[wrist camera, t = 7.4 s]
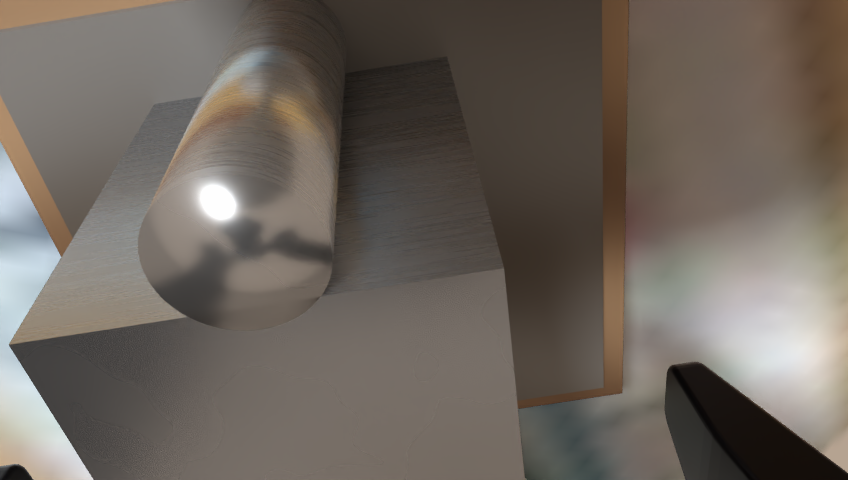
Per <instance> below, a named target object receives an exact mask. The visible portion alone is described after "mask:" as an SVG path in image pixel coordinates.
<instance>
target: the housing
mask: <svg viewBox="0 0 848 480" xmlns="http://www.w3.org/2000/svg"><path fill="white" fill-rule="evenodd" d="M346 53H347V44H346V37H345V33H344V30H343V27H342V25H341V23H340V21H339V19H338V18H337V16H336V15H335V14H334V12H333V11H332V10H331V9H330V8H329V7H328V6H327V5H326V4H325V3H323V2H322V1H321V0H254V1H253V2H251V3H250V4H249V5H248V6H247V7H246V9H245V10H244V11H243V13H242V15H241V17H240V18H239V20H238V23H237V25H236V27H235V29H234V31H233V33H232V35H231V37H230V39H229V41H228V43H227V46H226V48H225V50H224V52H223V54H222V56H221V58H220V60H219V62H218V64H217V66H216V69H215V71H214V73H213V75H212V77H211V79H210V81H209V83H208V85H207V87H206V90H205V92H204V94H203V96H201V97H195V98H188V99H182V100H176V101H170V102H164V103H158V104H154V105H153V107H152V109H151V110H150V112H149V114H148V115H147V117H146V119H145V120H144V122H143V123H142V125H141V127H140V128H139V130H138V132H137V133H136V135H135V137H134V138H133V140H132V142H131V143H130V145H129V147H128V148H127V150H126V152H125V153H124V155H123V157H122V158H121V160H120V162H119V163H118V165H117V166H116V168H115V170H114V171H113V173H112V175H111V176H110V178H109V180H108V181H107V183H106V185H105V186H104V188H103V190H102V191H101V193H100V195H99V196H98V198H97V200H96V201H95V203H94V205H93V206H92V208H91V209H90V211H89V213H88V214H87V216H86V218H85V219H84V221H83V223H82V224H81V226H80V228H79V229H78V231H77V233H76V234H75V236H74V238H73V239H72V241H71V243H70V244H69V246H68V248H67V249H66V251H65V252H64V254H63V256H62V257H61V259H60V261H59V262H58V264H57V266H56V267H55V269H54V271H53V272H52V274H51V276H50V277H49V279H48V281H47V282H46V284H45V286H44V287H43V289H42V291H41V292H40V294H39V295H38V297H37V299H36V300H35V302H34V304H33V305H32V307H31V309H30V310H29V312H28V314H27V315H26V317H25V319H24V320H23V322H22V324H21V325H20V327H19V329H18V330H17V332H16V334H15V335H14V337H13V338H12V340H11V342H10V343H9V346H10V347H11V349H12V351H13V352H14V354H15V355H16V357H17V359H18V360H19V362H20V363H21V365H22V366H23V368H24V370H25V371H26V373H27V374H28V376H29V378H30V379H31V381H32V382H33V384H34V386H35V387H36V389H37V390H38V392H39V393H40V395H41V397H42V398H43V400H44V401H45V403H46V405H47V406H48V408H49V409H50V411H51V413H52V414H53V416H54V417H55V419H56V420H57V422H58V424H59V425H60V427H61V428H62V430H63V432H64V433H65V435H66V436H67V438H68V440H69V441H70V443H71V444H72V446H73V447H74V449H75V451H76V452H77V454H78V455H79V457H80V459H81V460H82V462H83V463H84V465H85V467H86V468H87V470H88V471H89V473H90V474H91V476H92V478H93V479H94V480H525V475H524V465H523V455H522V445H521V435H520V425H519V415H518V405H517V394H516V384H515V374H514V364H513V354H512V344H511V334H510V324H509V314H508V304H507V293H506V283H505V273H504V266H503V263H502V259H501V255H500V251H499V248H498V244H497V240H496V237H495V233H494V229H493V225H492V222H491V218H490V214H489V211H488V207H487V203H486V199H485V196H484V192H483V188H482V184H481V181H480V177H479V173H478V170H477V166H476V162H475V158H474V155H473V151H472V147H471V144H470V140H469V136H468V132H467V129H466V125H465V121H464V118H463V114H462V110H461V106H460V103H459V99H458V95H457V91H456V88H455V84H454V80H453V77H452V73H451V69H450V65H449V62H448V58H447V57H442V58H436V59H430V60H423V61H417V62H411V63H405V64H399V65H392V66H386V67H380V68H374V69H368V70H362V71H355V72H349V73H345V68H346Z"/></svg>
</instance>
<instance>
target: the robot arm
mask: <svg viewBox="0 0 848 480" xmlns="http://www.w3.org/2000/svg"><path fill="white" fill-rule="evenodd" d="M665 415H666V420H667V424H668V427H669V430H670V433H671V436H672V439H673V442H674V445H675V449H676V452H677V455H678V458H679V461H680V464H681V467H682V470H683V473H684V476H685V479H686V480H848V473H847V472H846V471H844V470H843V469H842V468H840V467H839V466H838V465H836V464H835V463H834V462H832V461H831V460H830V459H828V458H827V457H826V456H824V455H823V454H822V453H820V452H819V451H818V450H816V449H815V448H814V447H812V446H811V445H810V444H809V443H807V442H806V441H805V440H803V439H802V438H801V437H799V436H798V435H797V434H795V433H794V432H793V431H791V430H790V429H789V428H787V427H786V426H785V425H783V424H782V423H781V422H779V421H778V420H777V419H775V418H774V417H773V416H771V415H770V414H769V413H767V412H766V411H765V410H763V409H762V408H761V407H759V406H758V405H757V404H755V403H754V402H753V401H751V400H750V399H749V398H747V397H746V396H745V395H743V394H742V393H741V392H739V391H738V390H737V389H735V388H734V387H733V386H731V385H730V384H729V383H727V382H726V381H725V380H723V379H722V378H721V377H719V376H718V375H717V374H715V373H714V372H713V371H711V370H710V369H709V368H708V367H706V366H705V365H703V364H701V363H699V362H690V363H683V364H677V365H672V366H670V367H669V369H668V371H667V379H666V395H665ZM0 480H33V479H32V477H31V476H30V474H29V473H28V472H27V470H26V469H25V468H24V467H23V466H21V465H19V464H13V465H6V466H0Z"/></svg>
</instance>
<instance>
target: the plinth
mask: <svg viewBox="0 0 848 480" xmlns="http://www.w3.org/2000/svg"><path fill="white" fill-rule="evenodd" d="M253 1H254V0H0V141H1V143H2V145H3V147H4V149H5V151H6V153H7V155H8V156H9V158H10V160H11V162H12V164H13V166H14V168H15V170H16V172H17V174H18V175H19V177H20V179H21V181H22V183H23V185H24V187H25V189H26V191H27V193H28V194H29V196H30V198H31V200H32V202H33V204H34V206H35V208H36V210H37V211H38V213H39V215H40V217H41V219H42V221H43V223H44V225H45V227H46V229H47V230H48V232H49V234H50V236H51V238H52V240H53V242H54V244H55V246H56V248H57V249H58V251H59V253H60V255H61V257H62V256H63V254H64V252H65V251H66V249H67V248H68V246H69V244H70V243H71V241H72V239H73V238H74V236H75V234H76V233H77V231H78V229H79V228H80V226H81V224H82V223H83V221H84V219H85V218H86V216H87V214H88V213H89V211H90V209H91V208H92V206H93V205H94V203H95V201H96V200H97V198H98V196H99V195H100V193H101V191H102V190H103V188H104V186H105V185H106V183H107V181H108V180H109V178H110V176H111V175H112V173H113V171H114V170H115V168H116V166H117V165H118V163H119V162H120V160H121V158H122V157H123V155H124V153H125V152H126V150H127V148H128V147H129V145H130V143H131V142H132V140H133V138H134V137H135V135H136V133H137V132H138V130H139V128H140V127H141V125H142V123H143V122H144V120H145V119H146V117H147V115H148V114H149V112H150V110H151V109H152V107H153V105H154V104H158V103H164V102H170V101H176V100H182V99H188V98H195V97H201V96H203V94H204V92H205V90H206V87H207V85H208V83H209V81H210V79H211V77H212V75H213V73H214V71H215V69H216V66H217V64H218V62H219V60H220V58H221V56H222V54H223V52H224V50H225V48H226V46H227V43H228V41H229V39H230V37H231V35H232V33H233V31H234V29H235V27H236V25H237V23H238V20H239V18H240V17H241V15H242V13H243V11H244V10H245V9H246V7H247V6H248V5H249V4H250V3H251V2H253ZM321 1H322V2H323V3H325V4H326V5H327V6H328V7H329V8H330V9H331V10H332V11H333V12H334V14H335V15H336V16H337V18H338V19H339V21H340V23H341V25H342V27H343V30H344V33H345V37H346V44H347V53H346V68H345V73H349V72H355V71H362V70H368V69H374V68H380V67H386V66H392V65H399V64H405V63H411V62H417V61H423V60H430V59H436V58H442V57H447V58H448V62H449V65H450V69H451V73H452V77H453V80H454V84H455V88H456V91H457V95H458V99H459V103H460V106H461V110H462V114H463V118H464V121H465V125H466V129H467V132H468V136H469V140H470V144H471V147H472V151H473V155H474V158H475V162H476V166H477V170H478V173H479V177H480V181H481V184H482V188H483V192H484V196H485V199H486V203H487V207H488V211H489V214H490V218H491V222H492V225H493V229H494V233H495V237H496V240H497V244H498V248H499V251H500V255H501V259H502V263H503V266H504V273H505V283H506V293H507V304H508V314H509V324H510V334H511V344H512V354H513V364H514V374H515V384H516V394H517V405H518V409H520V408H527V407H533V406H540V405H547V404H553V403H560V402H567V401H573V400H580V399H587V398H593V397H600V396H606V395H613V394H620V393H622V378H623V318H624V259H625V199H626V140H627V80H628V21H629V0H321Z"/></svg>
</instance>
